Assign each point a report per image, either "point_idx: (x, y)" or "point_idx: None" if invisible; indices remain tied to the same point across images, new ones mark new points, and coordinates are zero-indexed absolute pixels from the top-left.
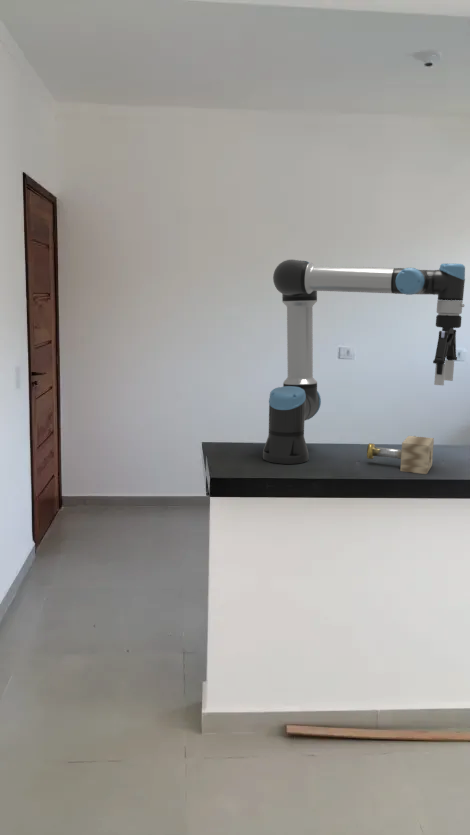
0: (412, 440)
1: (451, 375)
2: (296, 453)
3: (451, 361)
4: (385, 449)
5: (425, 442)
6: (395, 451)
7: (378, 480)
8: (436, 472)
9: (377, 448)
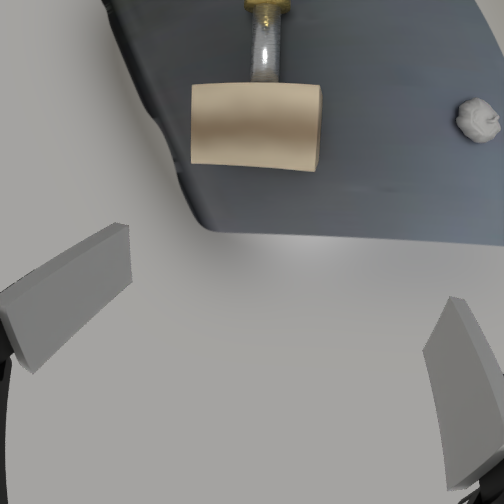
0: (243, 106)
1: (435, 372)
2: None
3: (460, 471)
4: (255, 36)
5: (230, 149)
6: (252, 63)
7: (132, 74)
8: (249, 175)
9: (256, 15)
